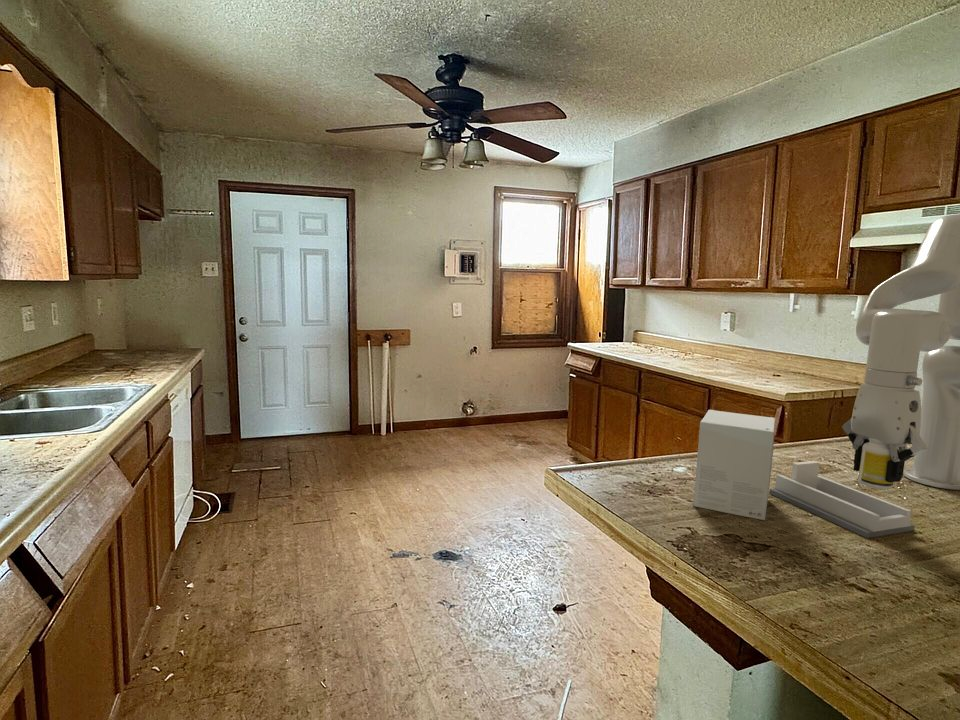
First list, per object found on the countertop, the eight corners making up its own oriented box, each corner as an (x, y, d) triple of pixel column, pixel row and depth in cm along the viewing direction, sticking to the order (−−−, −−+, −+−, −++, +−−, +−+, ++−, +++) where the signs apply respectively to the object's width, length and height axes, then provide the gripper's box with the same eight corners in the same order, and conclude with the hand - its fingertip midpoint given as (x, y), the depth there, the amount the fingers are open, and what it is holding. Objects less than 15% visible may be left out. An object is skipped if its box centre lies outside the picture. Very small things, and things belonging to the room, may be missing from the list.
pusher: (811, 487, 124) (814, 460, 123) (816, 489, 123) (819, 462, 122) (789, 490, 122) (792, 462, 121) (794, 492, 121) (797, 464, 120)
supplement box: (768, 499, 120) (777, 417, 118) (765, 521, 109) (775, 431, 106) (700, 486, 126) (707, 408, 124) (691, 506, 115) (699, 421, 112)
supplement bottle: (898, 491, 104) (906, 438, 103) (865, 488, 105) (872, 436, 104) (884, 481, 109) (891, 431, 108) (852, 478, 110) (859, 428, 109)
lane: (811, 488, 127) (813, 470, 127) (914, 530, 107) (917, 509, 106) (769, 493, 123) (771, 475, 123) (867, 538, 103) (870, 516, 102)
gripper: (955, 388, 98) (939, 490, 100) (860, 371, 114) (848, 460, 116) (924, 389, 95) (909, 494, 98) (831, 372, 111) (820, 462, 114)
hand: (876, 474), depth 107 cm, fingers closed on supplement bottle, 5 cm apart
